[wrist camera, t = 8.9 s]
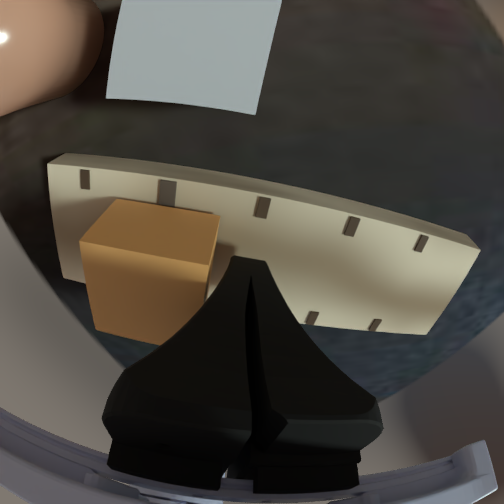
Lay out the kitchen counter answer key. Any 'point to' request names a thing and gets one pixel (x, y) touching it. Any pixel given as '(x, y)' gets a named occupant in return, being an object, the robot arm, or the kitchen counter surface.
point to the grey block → (193, 52)
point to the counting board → (281, 239)
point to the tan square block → (147, 268)
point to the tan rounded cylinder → (46, 49)
